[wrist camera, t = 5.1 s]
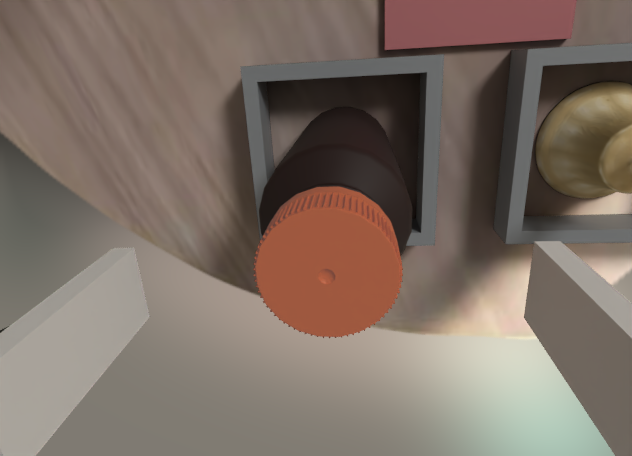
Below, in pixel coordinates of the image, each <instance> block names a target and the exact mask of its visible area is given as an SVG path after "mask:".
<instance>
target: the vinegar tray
mask: <svg viewBox="0 0 632 456" xmlns="http://www.w3.org/2000/svg"><path fill="white" fill-rule="evenodd" d="M443 66H444V54H441V55H424V56H407V57H391V58H374V59H358V60H341V61H325V62H308V63H292V64H275V65H258V66H243V67H241V76H242V85H243V94H244V103H245V111H246V120H247V129H248V138H249V147H250V156H251V165H252V173H253V182H254V191H255V200H256V209H257V218H258V226H259V235H260V240H261V238H262V237H263V236H262V234H261V228H260V218H259V208H260V203H261V199H262V195H263V191H264V187H265V185H266V184H267V182H268V181H269V179H270V178H271V176H272V174H273V173H274V171H275V170H274V160H273V149H272V138H271V128H270V117H269V106H268V95H267V85H266V81H282V80H300V79H318V78H335V77H353V76H371V75H388V74H406V73H420V106H419V138H418V170H417V203H416V219H412V232H411V234H410V237H409V239H408V242H407V245H406V246H422V245H435V229H436V209H437V188H438V168H439V147H440V127H441V106H442V86H443Z"/></svg>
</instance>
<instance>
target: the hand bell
mask: <svg viewBox="0 0 632 456" xmlns="http://www.w3.org/2000/svg"><path fill="white" fill-rule="evenodd" d="M535 155H536V163H537V166H538V170H539V172H540V174H541V175H542V177H543V179H544V180H545V181H546V182H547V183H548V184H549V185H550V186H551V187H552V188H553V189H555V190H556V191H558V192H560V193H562V194H564V195H567V196H570V197H575V198H597V197H602V196H606V195H609V194H612V193H615V192H621V193H632V85H630V84H627V83H623V82H601V83H595V84H591V85H589V86H586V87H583V88H581V89H579V90H577V91H575V92H573V93H572V94H570V95H569V96H567V97H566V98H564V99H563V100H562V101H561V102H560V103H559V104H558V105H557V106H556V107H555V108H554V109H553V110H552V111H551V112H550V113H549V115H548V116H547V118H546V119H545V121H544V123H543V124H542V126H541V129H540V131H539V134H538V137H537V141H536V151H535Z"/></svg>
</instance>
